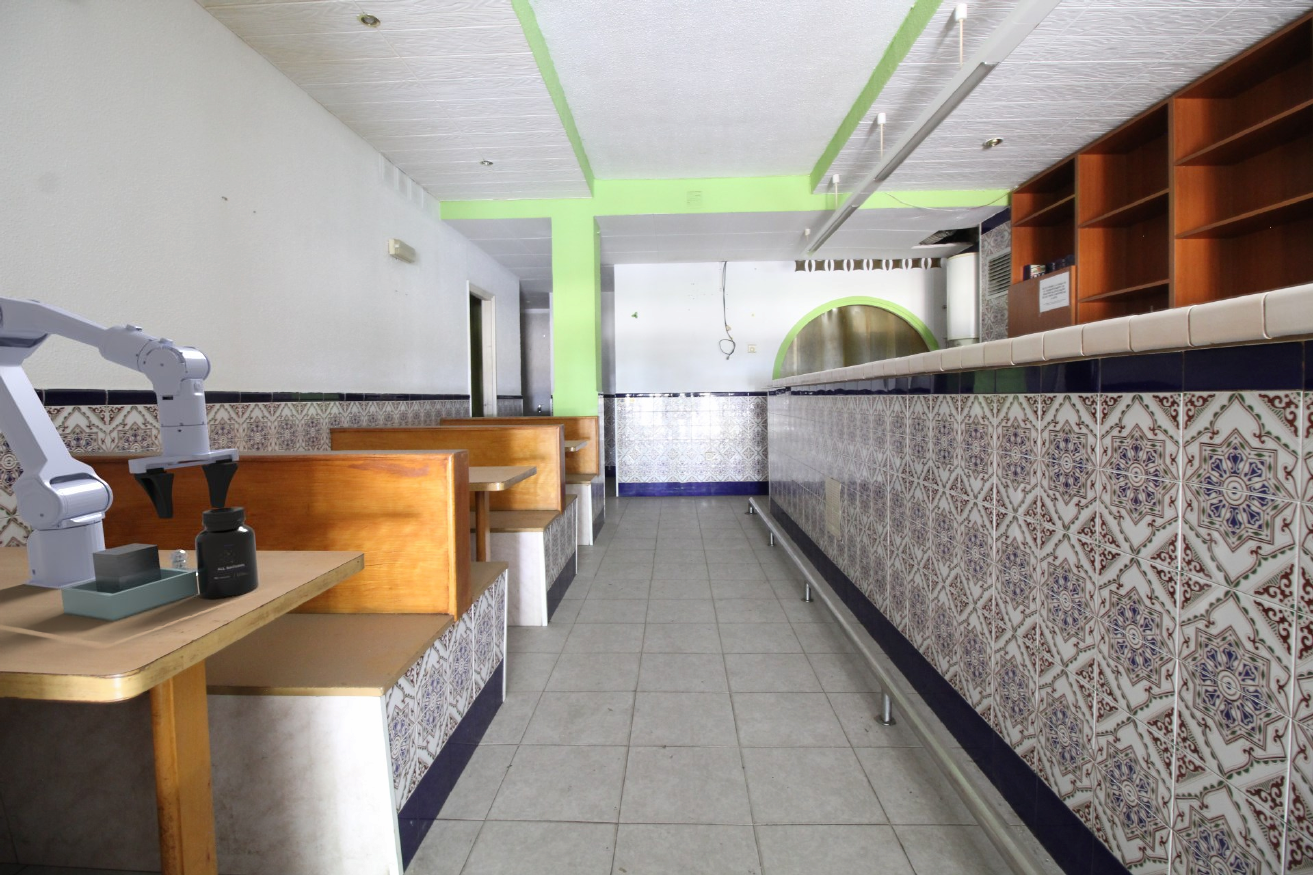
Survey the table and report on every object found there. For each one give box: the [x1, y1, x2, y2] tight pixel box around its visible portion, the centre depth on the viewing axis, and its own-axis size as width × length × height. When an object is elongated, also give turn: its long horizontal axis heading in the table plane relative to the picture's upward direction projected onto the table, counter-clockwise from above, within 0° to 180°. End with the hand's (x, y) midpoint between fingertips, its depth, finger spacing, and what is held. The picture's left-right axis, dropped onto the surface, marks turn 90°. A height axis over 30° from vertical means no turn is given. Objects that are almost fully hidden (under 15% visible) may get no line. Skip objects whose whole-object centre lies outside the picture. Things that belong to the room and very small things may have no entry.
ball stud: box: [169, 549, 198, 576], centre depth 92 cm, size 6×6×4 cm
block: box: [92, 542, 161, 594], centre depth 80 cm, size 5×5×7 cm
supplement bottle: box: [194, 506, 259, 601], centre depth 83 cm, size 7×7×12 cm
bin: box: [60, 566, 199, 622], centre depth 80 cm, size 10×10×4 cm
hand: (193, 512), depth 92 cm, fingers open, 7 cm apart
